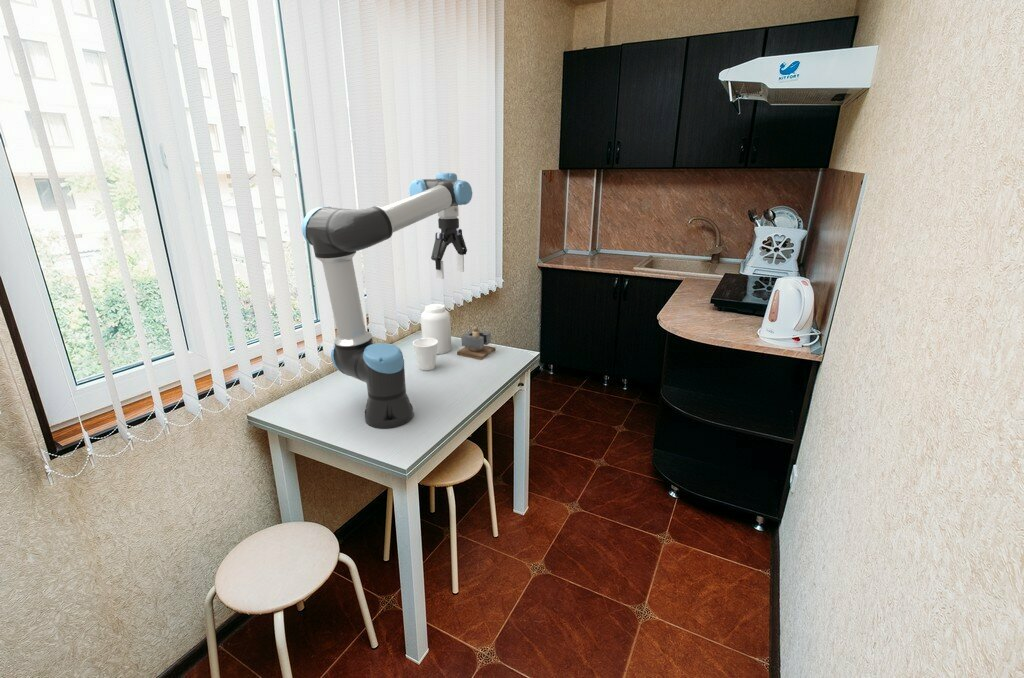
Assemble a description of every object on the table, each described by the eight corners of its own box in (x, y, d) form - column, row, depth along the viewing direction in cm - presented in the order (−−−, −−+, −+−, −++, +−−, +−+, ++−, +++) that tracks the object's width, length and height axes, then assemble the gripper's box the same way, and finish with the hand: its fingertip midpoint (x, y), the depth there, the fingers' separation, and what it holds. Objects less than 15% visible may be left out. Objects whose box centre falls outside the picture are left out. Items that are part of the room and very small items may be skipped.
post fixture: (481, 360, 197) (480, 332, 192) (456, 354, 202) (456, 328, 198) (495, 350, 207) (495, 324, 202) (471, 345, 212) (471, 320, 208)
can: (456, 346, 211) (454, 303, 204) (444, 356, 200) (441, 311, 193) (430, 343, 215) (428, 300, 208) (417, 353, 204) (414, 308, 197)
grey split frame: (490, 342, 205) (490, 332, 203) (479, 349, 197) (479, 339, 196) (472, 339, 208) (472, 329, 207) (461, 345, 201) (461, 335, 199)
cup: (437, 373, 184) (435, 346, 180) (411, 372, 184) (409, 346, 181) (441, 363, 193) (440, 337, 190) (417, 362, 194) (415, 337, 190)
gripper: (436, 221, 161) (439, 282, 169) (475, 215, 182) (476, 269, 189) (418, 220, 164) (422, 280, 172) (458, 214, 185) (460, 267, 193)
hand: (450, 274), depth 181 cm, fingers open, 13 cm apart
